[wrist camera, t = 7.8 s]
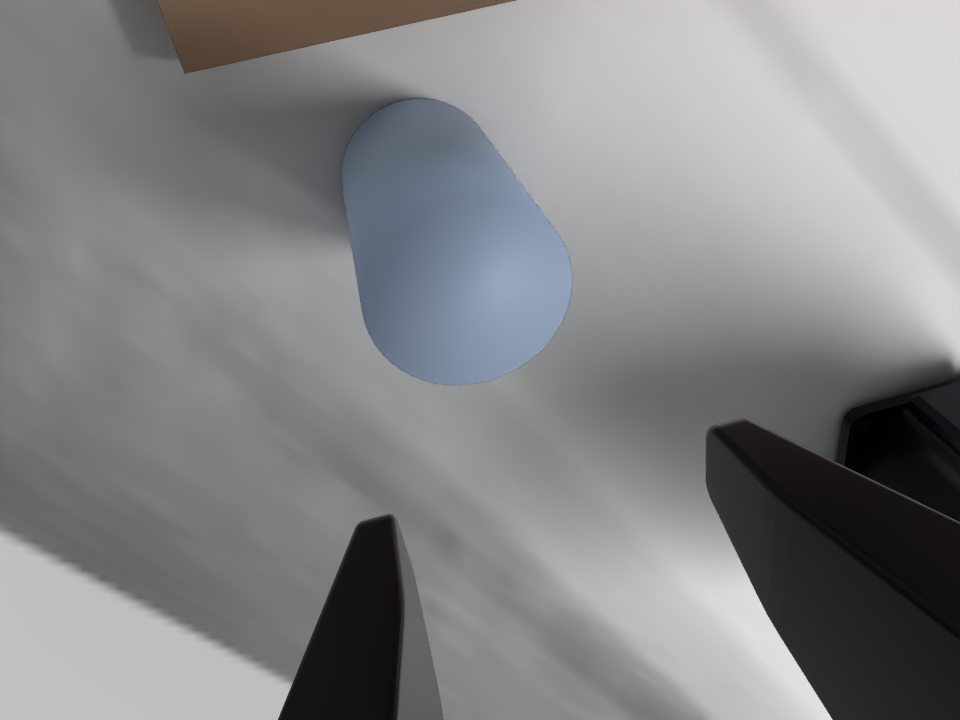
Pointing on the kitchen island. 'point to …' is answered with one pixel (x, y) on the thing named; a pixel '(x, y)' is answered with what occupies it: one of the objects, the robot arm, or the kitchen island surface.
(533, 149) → the kitchen island surface
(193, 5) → the board
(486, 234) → the light blue cylinder
